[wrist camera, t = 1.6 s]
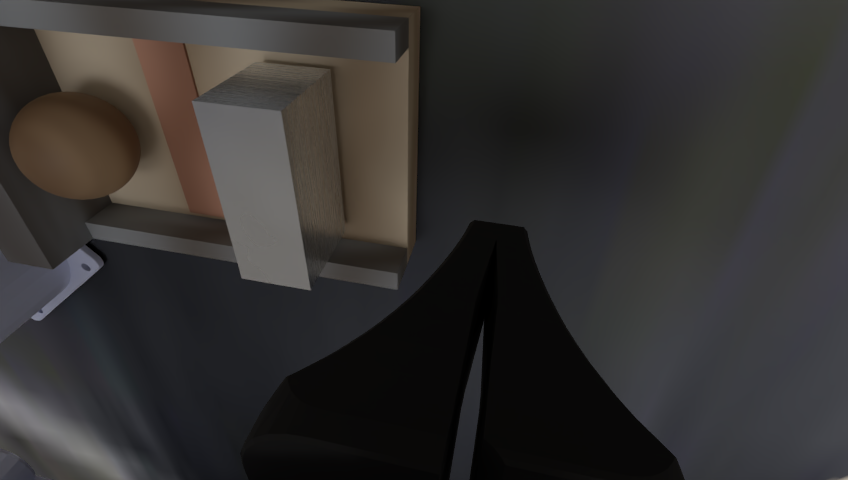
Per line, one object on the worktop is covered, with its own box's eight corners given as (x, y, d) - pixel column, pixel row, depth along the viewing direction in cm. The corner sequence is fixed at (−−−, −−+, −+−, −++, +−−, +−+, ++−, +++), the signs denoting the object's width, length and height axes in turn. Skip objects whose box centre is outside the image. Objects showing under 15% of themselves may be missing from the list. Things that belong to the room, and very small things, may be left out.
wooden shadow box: (420, 6, 14) (370, 54, 10) (415, 241, 20) (381, 332, 16) (1, -26, 16) (-174, 4, 12) (102, 193, 22) (3, 262, 18)
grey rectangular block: (330, 69, 14) (280, 111, 11) (345, 230, 18) (310, 290, 15) (255, 61, 14) (191, 100, 12) (285, 221, 18) (242, 278, 15)
